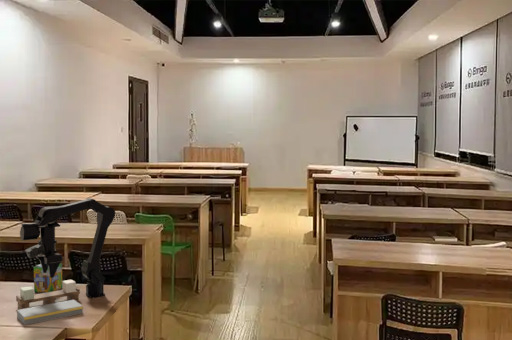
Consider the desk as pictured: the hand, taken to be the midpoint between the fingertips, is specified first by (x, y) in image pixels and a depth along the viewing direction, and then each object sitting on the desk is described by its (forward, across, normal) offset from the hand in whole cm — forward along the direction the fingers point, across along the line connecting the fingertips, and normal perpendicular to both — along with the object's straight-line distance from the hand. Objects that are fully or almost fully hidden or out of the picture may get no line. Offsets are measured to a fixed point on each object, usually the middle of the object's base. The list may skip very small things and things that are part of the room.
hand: (48, 275), depth 228 cm
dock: (+12, +15, -4) cm, 20 cm away
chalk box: (+12, -20, +6) cm, 24 cm away
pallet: (+12, 0, 0) cm, 12 cm away
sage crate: (+8, 0, -8) cm, 12 cm away
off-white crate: (+8, 0, +9) cm, 12 cm away
